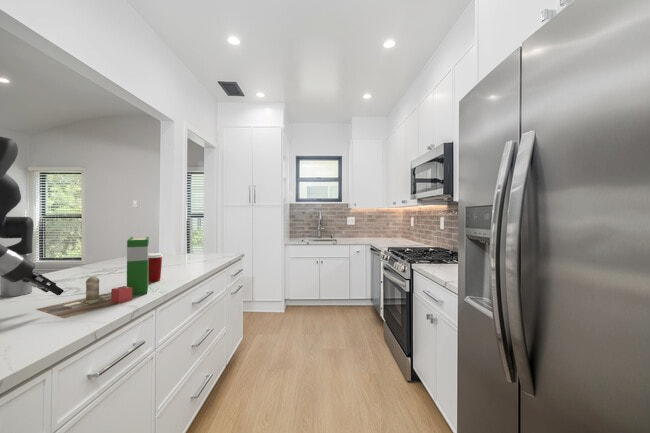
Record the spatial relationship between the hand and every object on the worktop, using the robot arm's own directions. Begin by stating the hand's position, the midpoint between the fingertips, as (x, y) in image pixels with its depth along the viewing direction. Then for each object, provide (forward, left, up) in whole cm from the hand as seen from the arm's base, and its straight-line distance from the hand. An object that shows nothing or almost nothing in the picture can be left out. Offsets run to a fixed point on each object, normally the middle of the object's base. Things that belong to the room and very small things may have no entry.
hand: (55, 291), depth 102 cm
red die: (+10, +17, -7) cm, 21 cm away
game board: (+3, +8, -7) cm, 11 cm away
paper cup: (-11, +45, -7) cm, 47 cm away
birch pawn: (0, +12, -7) cm, 13 cm away
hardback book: (0, +30, -7) cm, 31 cm away
